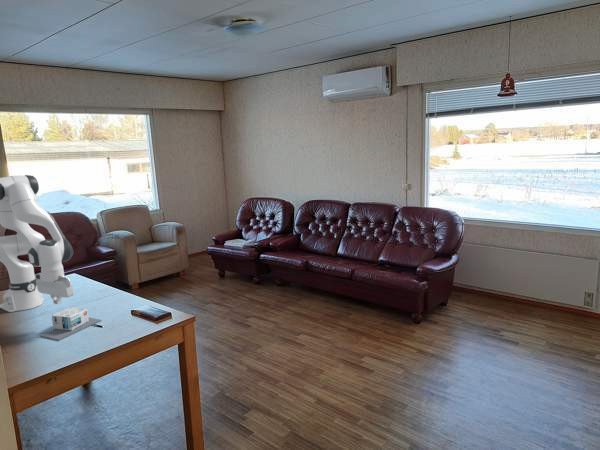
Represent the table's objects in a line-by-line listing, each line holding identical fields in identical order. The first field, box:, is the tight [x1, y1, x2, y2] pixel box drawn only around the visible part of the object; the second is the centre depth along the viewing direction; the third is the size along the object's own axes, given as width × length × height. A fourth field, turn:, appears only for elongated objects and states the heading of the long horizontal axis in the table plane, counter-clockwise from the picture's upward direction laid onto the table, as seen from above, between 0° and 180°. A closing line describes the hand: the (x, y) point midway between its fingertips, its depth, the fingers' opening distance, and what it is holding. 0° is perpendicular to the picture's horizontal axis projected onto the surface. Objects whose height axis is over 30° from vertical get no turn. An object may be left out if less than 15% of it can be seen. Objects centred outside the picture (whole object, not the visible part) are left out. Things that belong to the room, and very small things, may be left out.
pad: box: [40, 316, 102, 342], centre depth 194 cm, size 12×22×1 cm, turn 156°
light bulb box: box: [51, 307, 89, 331], centre depth 195 cm, size 11×7×11 cm
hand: (57, 303), depth 195 cm, fingers closed
